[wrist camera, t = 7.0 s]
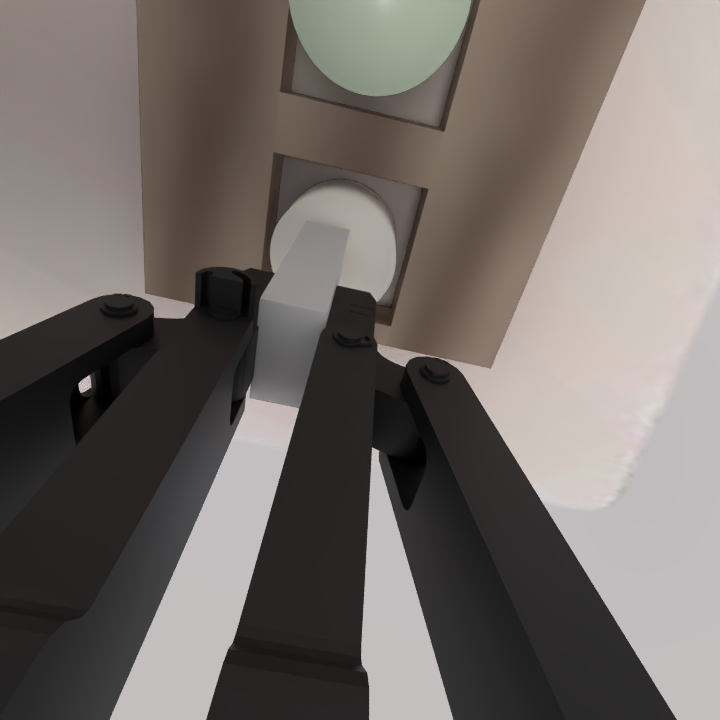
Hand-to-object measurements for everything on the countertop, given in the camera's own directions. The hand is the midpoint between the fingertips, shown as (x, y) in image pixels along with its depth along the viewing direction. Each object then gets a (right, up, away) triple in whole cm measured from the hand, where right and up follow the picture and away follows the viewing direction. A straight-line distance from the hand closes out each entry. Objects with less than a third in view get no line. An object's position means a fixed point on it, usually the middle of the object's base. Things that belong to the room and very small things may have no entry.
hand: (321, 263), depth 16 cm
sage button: (+2, +8, -2) cm, 8 cm away
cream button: (+1, +2, +4) cm, 4 cm away
